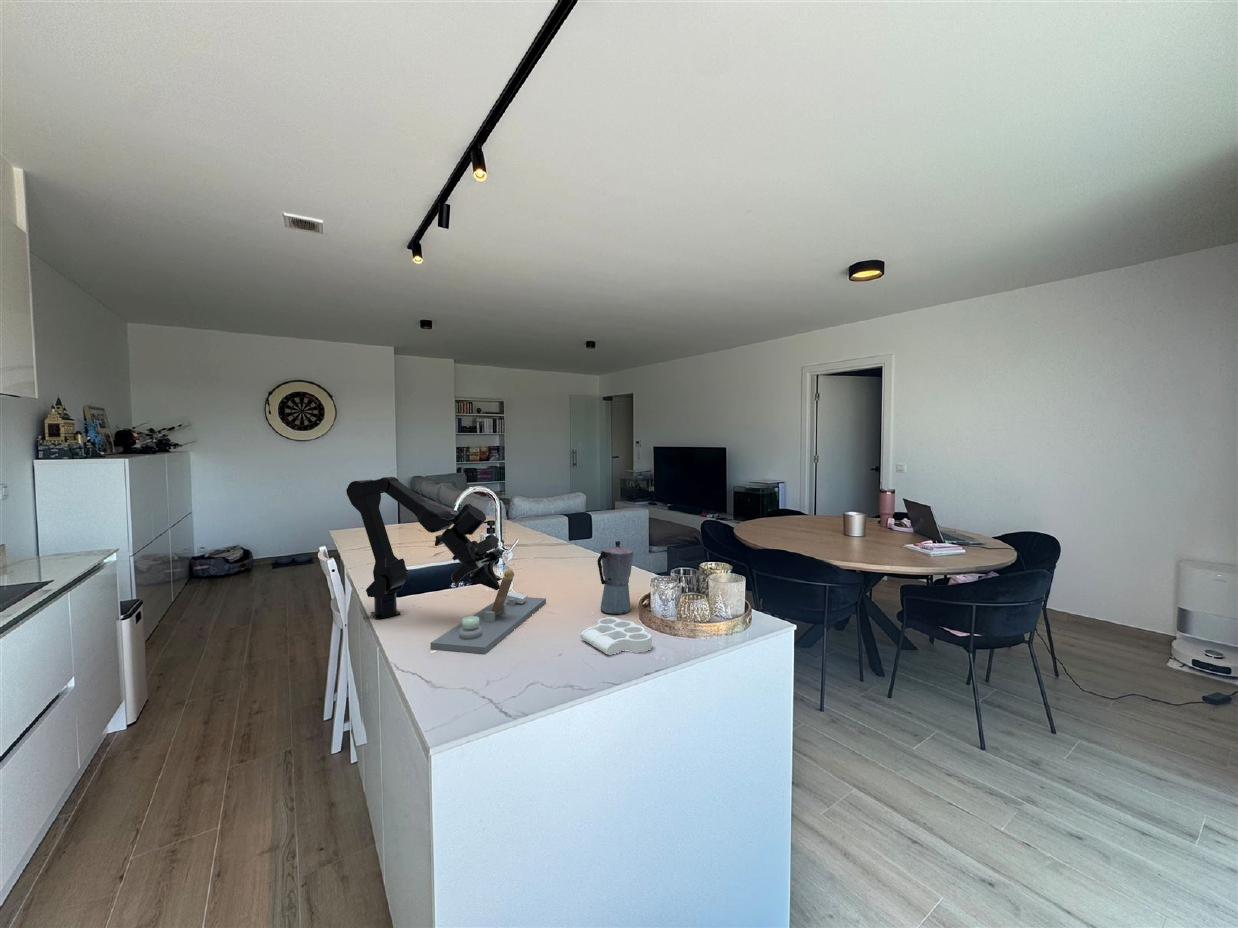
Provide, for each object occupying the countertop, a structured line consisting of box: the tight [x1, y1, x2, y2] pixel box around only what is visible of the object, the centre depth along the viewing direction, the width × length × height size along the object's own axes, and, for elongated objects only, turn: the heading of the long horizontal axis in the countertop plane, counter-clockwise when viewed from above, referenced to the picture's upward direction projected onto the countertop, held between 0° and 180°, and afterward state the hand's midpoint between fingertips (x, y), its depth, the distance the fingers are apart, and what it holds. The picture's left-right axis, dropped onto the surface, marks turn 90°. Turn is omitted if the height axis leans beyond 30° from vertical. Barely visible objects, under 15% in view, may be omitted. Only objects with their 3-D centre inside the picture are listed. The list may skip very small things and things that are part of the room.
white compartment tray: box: [579, 616, 653, 656], centre depth 120 cm, size 3×18×15 cm
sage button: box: [461, 615, 479, 629], centre depth 120 cm, size 4×4×2 cm
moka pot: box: [596, 540, 635, 615], centre depth 142 cm, size 10×15×20 cm, turn 148°
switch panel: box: [430, 592, 547, 655], centre depth 133 cm, size 14×38×4 cm, turn 167°
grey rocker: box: [506, 590, 529, 604], centre depth 146 cm, size 6×4×1 cm, turn 77°
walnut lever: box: [491, 569, 515, 617], centre depth 132 cm, size 3×4×14 cm, turn 167°
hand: (498, 588), depth 133 cm, fingers closed
